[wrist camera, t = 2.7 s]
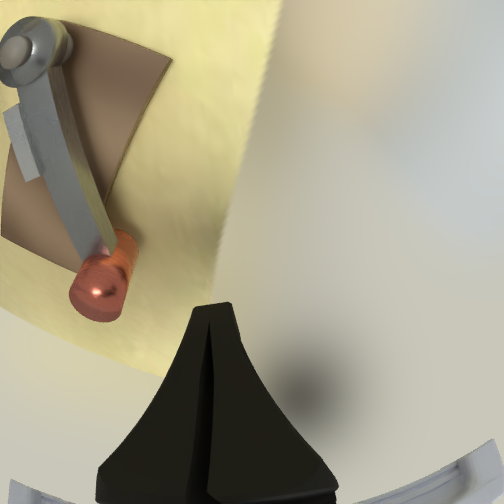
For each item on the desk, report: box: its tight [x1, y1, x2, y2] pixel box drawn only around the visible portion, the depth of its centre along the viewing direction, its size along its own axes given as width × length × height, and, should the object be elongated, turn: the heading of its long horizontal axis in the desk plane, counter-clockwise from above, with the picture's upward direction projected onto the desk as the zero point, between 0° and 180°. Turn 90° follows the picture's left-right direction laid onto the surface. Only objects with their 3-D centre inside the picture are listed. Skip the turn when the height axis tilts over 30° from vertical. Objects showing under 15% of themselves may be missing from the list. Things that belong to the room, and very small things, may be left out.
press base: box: [0, 20, 173, 274], centre depth 12 cm, size 14×7×5 cm, turn 148°
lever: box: [0, 16, 139, 322], centre depth 11 cm, size 15×3×4 cm, turn 8°
